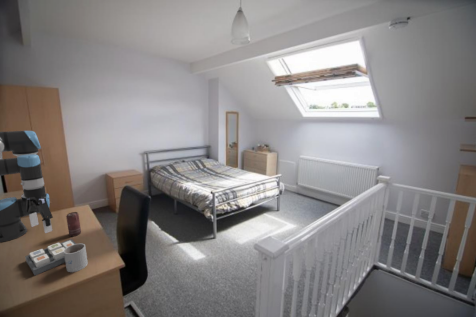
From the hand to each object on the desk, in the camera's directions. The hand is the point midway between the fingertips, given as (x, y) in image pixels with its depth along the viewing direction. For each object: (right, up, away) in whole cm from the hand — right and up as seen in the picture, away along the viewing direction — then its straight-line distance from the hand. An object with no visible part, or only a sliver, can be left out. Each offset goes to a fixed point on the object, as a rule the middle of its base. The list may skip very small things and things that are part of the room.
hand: (41, 228), depth 107 cm
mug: (+14, -20, +4) cm, 25 cm away
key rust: (-1, -18, +2) cm, 18 cm away
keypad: (-1, -18, +9) cm, 20 cm away
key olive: (-3, -16, +11) cm, 20 cm away
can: (-7, -14, +32) cm, 35 cm away
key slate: (-7, -17, +6) cm, 19 cm away
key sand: (+3, -17, +7) cm, 18 cm away
